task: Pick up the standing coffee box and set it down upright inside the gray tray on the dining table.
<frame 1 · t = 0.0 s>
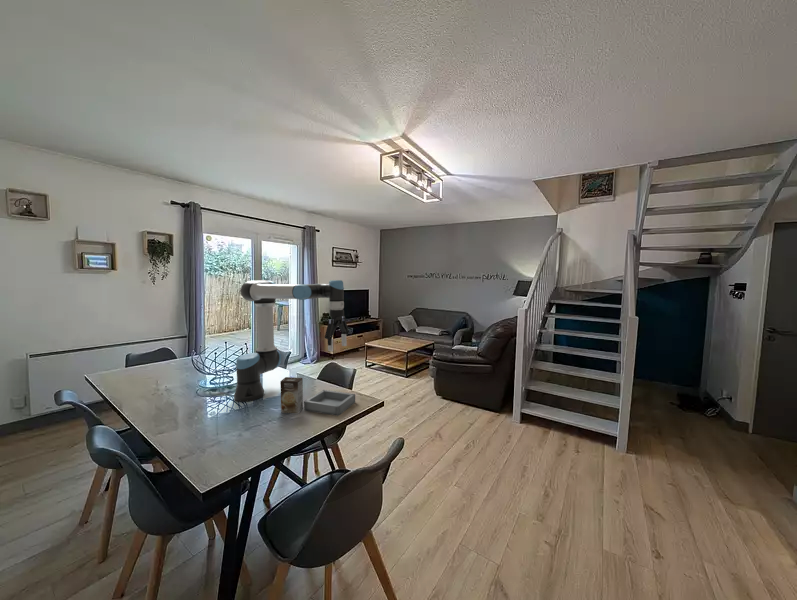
hand: (337, 348, 164), 28 cm above the table, fingers open, 13 cm apart
gray tray: (330, 406, 157), on the table
coffee box: (292, 411, 151), on the table
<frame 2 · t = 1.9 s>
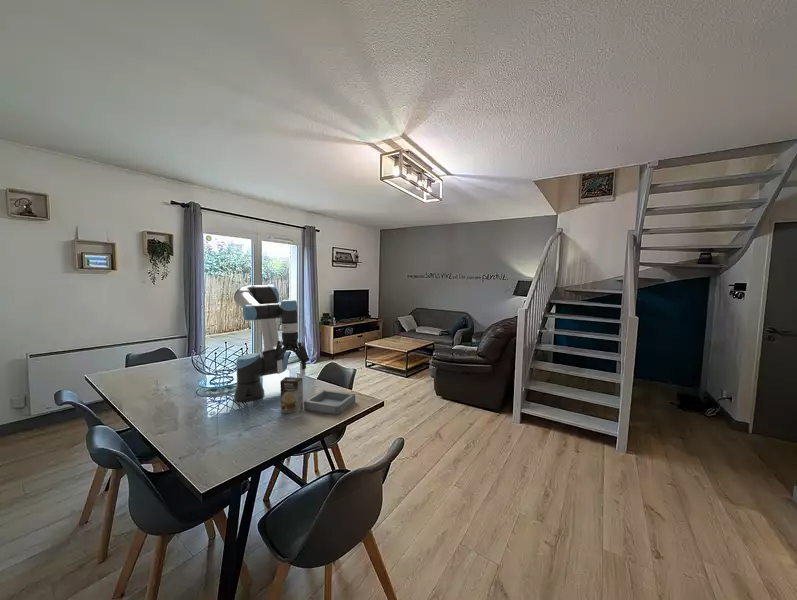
hand: (291, 374, 150), 18 cm above the table, fingers open, 13 cm apart
nothing on the table moved.
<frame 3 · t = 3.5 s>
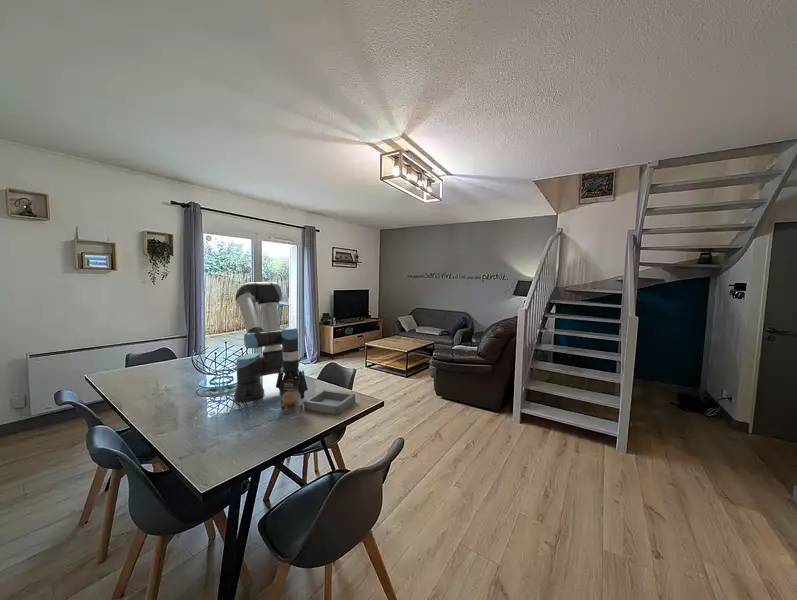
hand: (292, 403, 151), 4 cm above the table, fingers closed on coffee box, 10 cm apart
coffee box: (292, 411, 151), on the table, touching gripper
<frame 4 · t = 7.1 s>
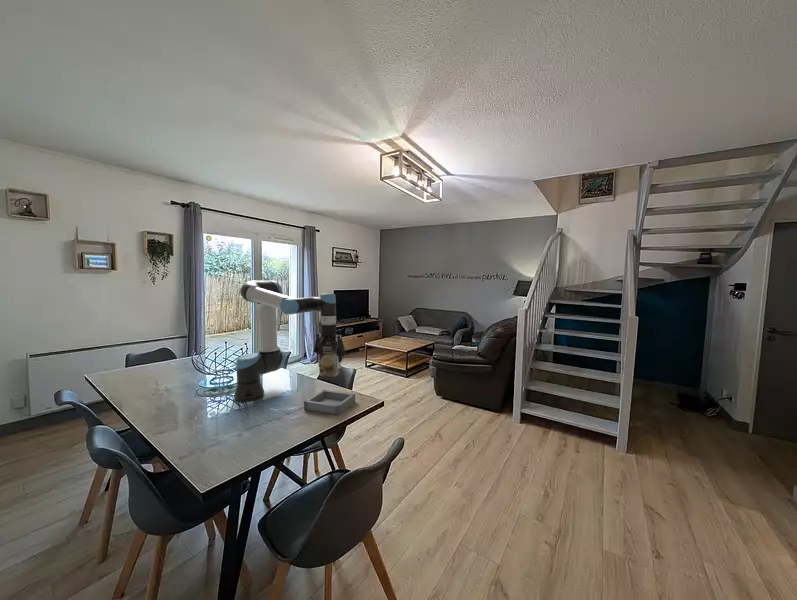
hand: (329, 367, 155), 20 cm above the table, fingers closed on coffee box, 10 cm apart
coffee box: (329, 374, 155), point 16 cm above the table, touching gripper
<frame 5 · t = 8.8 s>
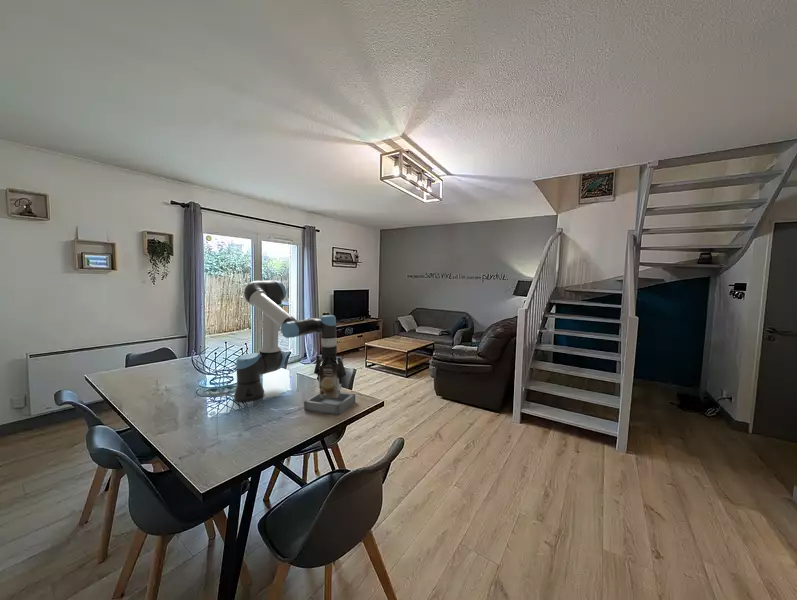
hand: (330, 388, 156), 9 cm above the table, fingers closed on coffee box, 10 cm apart
coffee box: (330, 396, 156), point 5 cm above the table, touching gripper
when the fingers open (6 cm above the table, at t = 10.5 s): coffee box drops 1 cm, resting on gray tray.
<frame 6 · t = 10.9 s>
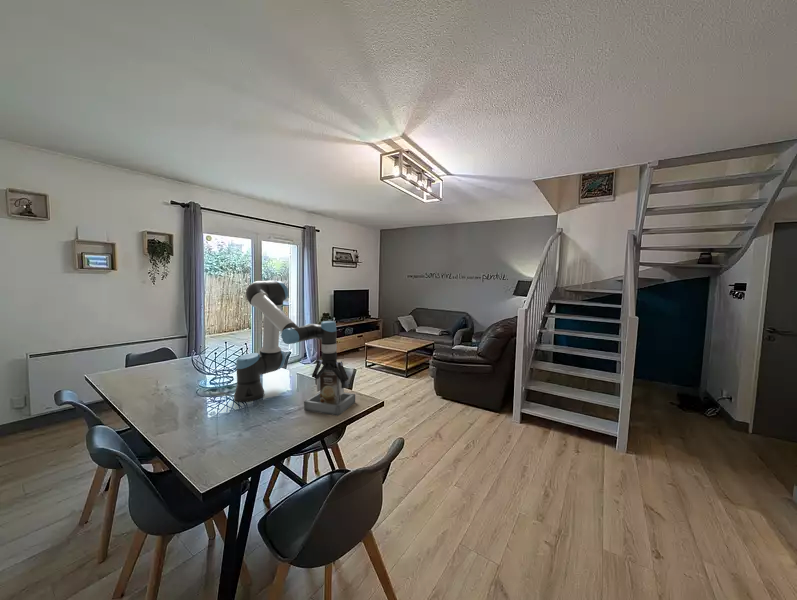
hand: (330, 392, 156), 7 cm above the table, fingers open, 13 cm apart
coffee box: (330, 404, 156), point 1 cm above the table, touching gray tray
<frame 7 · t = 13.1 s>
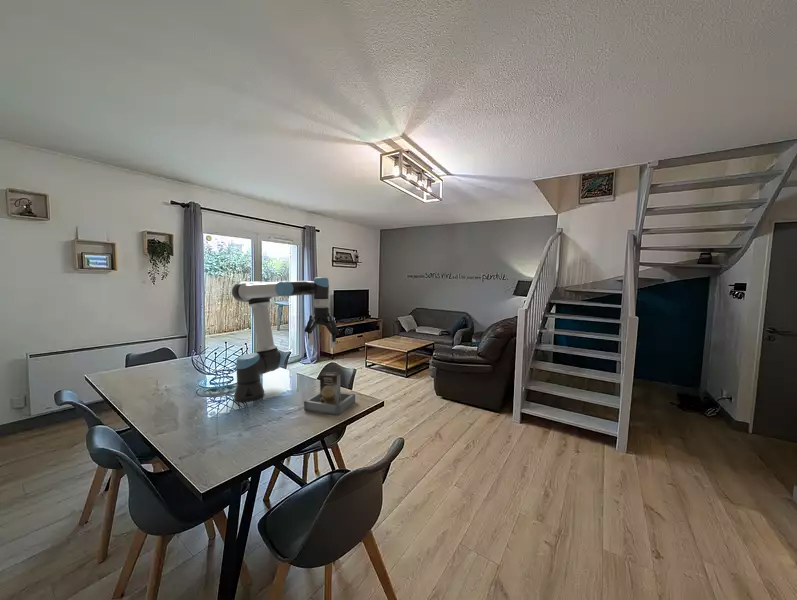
hand: (321, 346, 162), 29 cm above the table, fingers open, 13 cm apart
nothing on the table moved.
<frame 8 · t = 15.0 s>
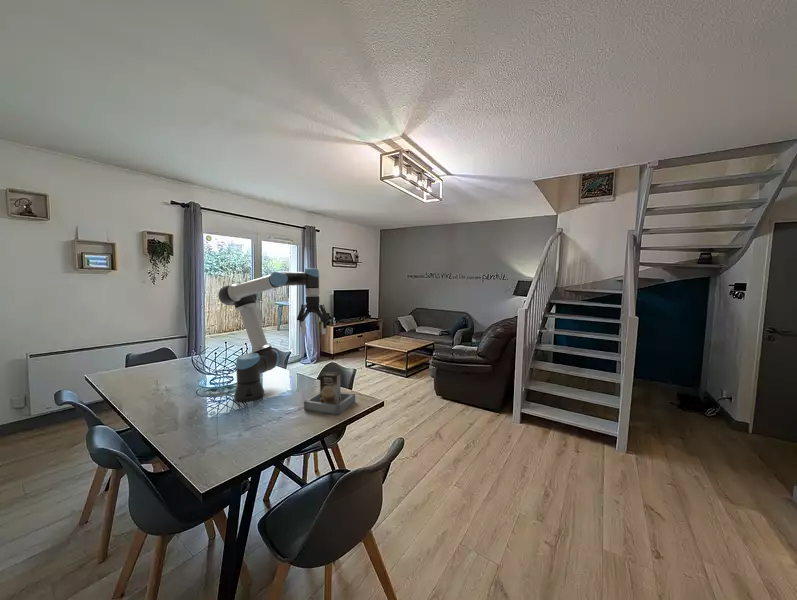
hand: (313, 333, 172), 35 cm above the table, fingers open, 13 cm apart
nothing on the table moved.
at the end: coffee box inside the target area on the gray tray (0.2 cm from its centre), point 0.8 cm above the gray tray's base; coffee box tilted 0°; the gripper is holding nothing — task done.
